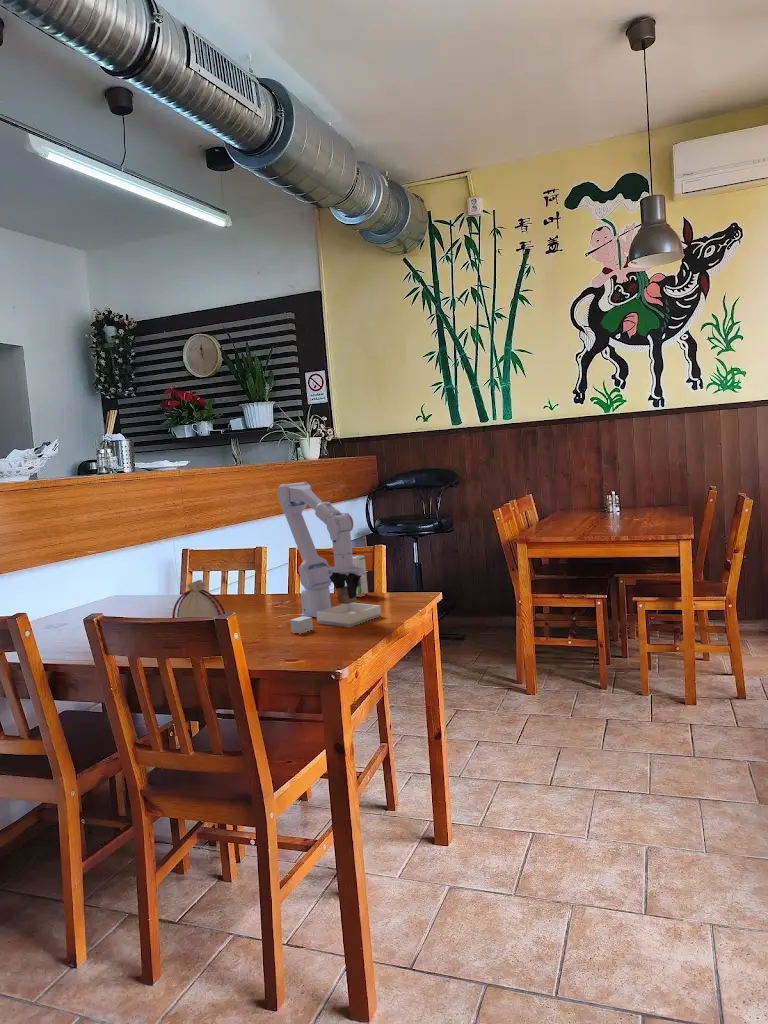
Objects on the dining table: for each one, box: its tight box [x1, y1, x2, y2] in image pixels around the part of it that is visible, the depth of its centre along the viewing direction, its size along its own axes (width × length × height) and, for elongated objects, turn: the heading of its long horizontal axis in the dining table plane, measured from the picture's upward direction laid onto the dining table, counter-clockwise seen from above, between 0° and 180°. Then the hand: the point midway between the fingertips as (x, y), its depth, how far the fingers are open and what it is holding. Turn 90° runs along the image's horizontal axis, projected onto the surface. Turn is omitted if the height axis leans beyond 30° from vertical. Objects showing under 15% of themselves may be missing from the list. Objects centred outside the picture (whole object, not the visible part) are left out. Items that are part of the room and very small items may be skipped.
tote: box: [316, 602, 382, 628], centre depth 225 cm, size 14×14×4 cm
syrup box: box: [345, 555, 369, 596], centre depth 261 cm, size 6×6×14 cm
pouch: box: [172, 579, 226, 618], centre depth 208 cm, size 25×8×19 cm, turn 73°
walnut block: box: [336, 585, 358, 604], centre depth 224 cm, size 4×4×4 cm
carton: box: [289, 616, 314, 635], centre depth 216 cm, size 4×5×4 cm
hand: (347, 597), depth 225 cm, fingers closed on walnut block, 4 cm apart
